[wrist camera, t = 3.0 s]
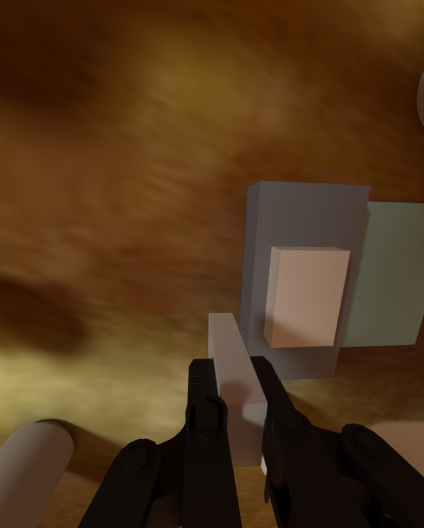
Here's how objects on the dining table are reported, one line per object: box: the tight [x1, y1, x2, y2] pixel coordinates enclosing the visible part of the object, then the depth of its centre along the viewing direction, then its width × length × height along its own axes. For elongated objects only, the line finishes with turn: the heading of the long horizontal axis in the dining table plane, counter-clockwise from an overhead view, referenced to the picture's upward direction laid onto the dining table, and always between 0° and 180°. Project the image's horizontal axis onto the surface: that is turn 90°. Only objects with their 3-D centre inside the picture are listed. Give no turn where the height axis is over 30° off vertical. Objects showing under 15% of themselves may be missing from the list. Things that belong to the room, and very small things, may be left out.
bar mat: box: [340, 201, 424, 347], centre depth 24 cm, size 18×14×1 cm
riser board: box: [239, 181, 371, 380], centre depth 22 cm, size 20×10×4 cm, turn 179°
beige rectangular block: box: [264, 247, 350, 348], centre depth 19 cm, size 9×6×2 cm, turn 179°
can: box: [0, 421, 74, 528], centre depth 20 cm, size 8×8×12 cm
